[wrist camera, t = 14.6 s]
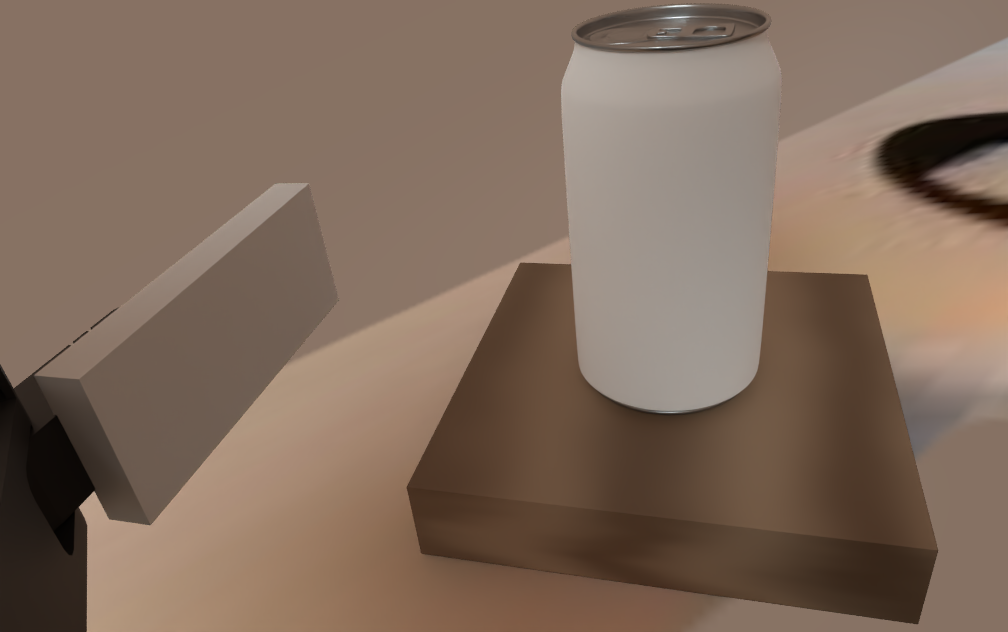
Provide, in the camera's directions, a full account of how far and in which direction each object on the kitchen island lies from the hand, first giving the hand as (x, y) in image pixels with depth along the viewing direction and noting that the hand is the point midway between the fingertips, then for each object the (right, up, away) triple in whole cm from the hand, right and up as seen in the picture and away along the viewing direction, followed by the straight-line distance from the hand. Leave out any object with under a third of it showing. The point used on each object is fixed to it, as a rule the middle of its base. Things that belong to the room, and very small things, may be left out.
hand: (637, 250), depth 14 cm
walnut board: (+4, -6, +16) cm, 17 cm away
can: (+4, -3, +14) cm, 15 cm away
